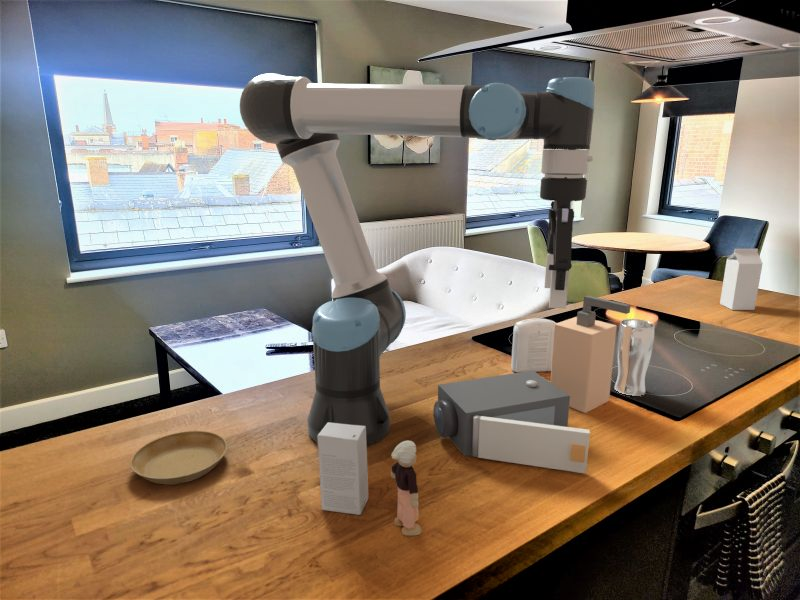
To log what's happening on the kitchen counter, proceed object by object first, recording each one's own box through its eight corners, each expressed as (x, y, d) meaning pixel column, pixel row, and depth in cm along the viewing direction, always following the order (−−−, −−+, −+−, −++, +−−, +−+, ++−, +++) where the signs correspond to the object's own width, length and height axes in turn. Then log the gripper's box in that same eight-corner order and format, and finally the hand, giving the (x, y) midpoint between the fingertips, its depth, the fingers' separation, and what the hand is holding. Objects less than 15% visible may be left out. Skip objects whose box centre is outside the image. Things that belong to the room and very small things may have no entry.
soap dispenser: (548, 398, 114) (556, 295, 108) (572, 387, 119) (581, 288, 114) (604, 421, 105) (616, 309, 99) (628, 408, 110) (640, 301, 104)
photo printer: (550, 364, 132) (553, 315, 129) (557, 371, 128) (561, 320, 124) (508, 367, 131) (511, 317, 127) (514, 374, 126) (517, 322, 123)
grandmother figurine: (434, 533, 75) (435, 449, 71) (411, 545, 72) (411, 459, 69) (401, 504, 81) (401, 426, 77) (379, 514, 79) (377, 434, 75)
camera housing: (452, 459, 92) (453, 412, 90) (426, 425, 103) (426, 383, 101) (566, 436, 99) (570, 392, 97) (530, 407, 110) (533, 367, 108)
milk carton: (754, 310, 174) (764, 250, 169) (731, 310, 174) (741, 250, 169) (741, 304, 181) (751, 246, 176) (719, 304, 181) (728, 246, 176)
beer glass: (620, 381, 122) (627, 316, 118) (652, 390, 118) (661, 323, 114) (606, 390, 118) (613, 323, 114) (639, 401, 113) (647, 331, 109)
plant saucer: (158, 442, 99) (156, 429, 98) (240, 443, 98) (238, 430, 97) (114, 492, 84) (111, 477, 84) (210, 494, 84) (208, 479, 83)
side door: (470, 459, 91) (472, 420, 89) (472, 452, 93) (473, 415, 91) (586, 476, 86) (589, 436, 85) (585, 469, 88) (589, 429, 86)
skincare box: (369, 498, 82) (367, 425, 79) (360, 516, 78) (358, 440, 75) (330, 493, 84) (327, 421, 80) (320, 510, 80) (316, 435, 76)
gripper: (598, 180, 81) (584, 318, 87) (578, 172, 105) (569, 281, 111) (545, 180, 83) (535, 316, 88) (538, 172, 106) (530, 280, 112)
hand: (554, 297), depth 99 cm, fingers open, 13 cm apart
